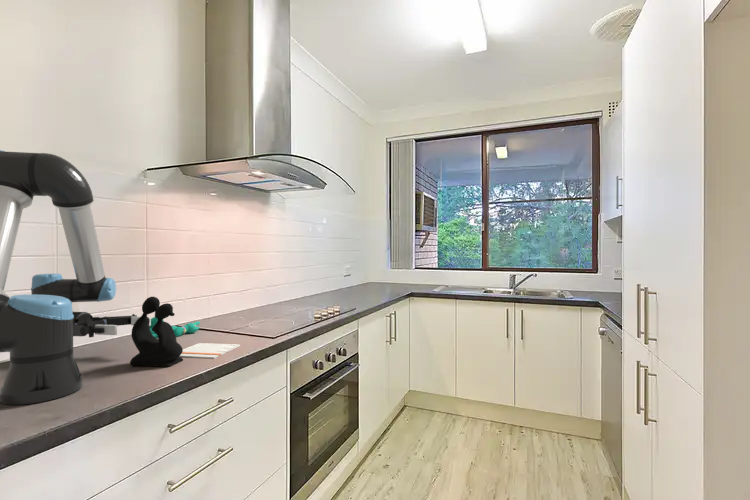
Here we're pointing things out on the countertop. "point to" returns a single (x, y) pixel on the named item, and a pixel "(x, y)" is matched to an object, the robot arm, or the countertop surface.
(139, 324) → the figurine
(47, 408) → the countertop surface
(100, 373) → the countertop surface
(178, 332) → the toy
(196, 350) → the mat
